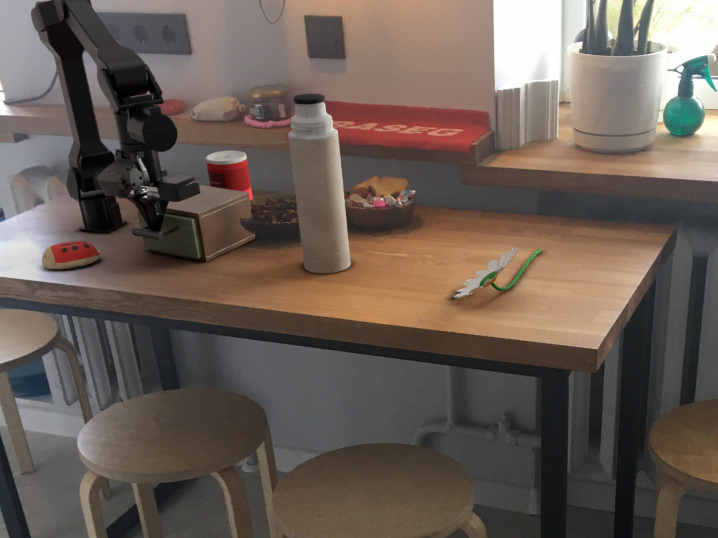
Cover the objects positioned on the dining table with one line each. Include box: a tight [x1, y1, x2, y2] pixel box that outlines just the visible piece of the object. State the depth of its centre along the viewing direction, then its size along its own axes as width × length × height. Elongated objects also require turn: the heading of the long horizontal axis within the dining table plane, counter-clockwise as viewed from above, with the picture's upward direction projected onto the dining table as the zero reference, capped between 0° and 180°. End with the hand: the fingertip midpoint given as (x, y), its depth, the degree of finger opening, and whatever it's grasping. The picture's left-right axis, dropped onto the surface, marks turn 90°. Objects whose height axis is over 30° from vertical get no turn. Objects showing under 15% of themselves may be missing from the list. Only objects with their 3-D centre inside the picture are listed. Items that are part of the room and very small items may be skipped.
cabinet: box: [147, 184, 256, 263], centre depth 183 cm, size 14×14×9 cm
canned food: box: [205, 150, 254, 200], centre depth 199 cm, size 8×8×11 cm
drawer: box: [131, 210, 203, 258], centre depth 180 cm, size 18×12×7 cm
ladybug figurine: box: [41, 240, 102, 270], centre depth 177 cm, size 7×10×4 cm
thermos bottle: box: [288, 93, 351, 274], centre depth 168 cm, size 8×8×28 cm
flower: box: [452, 246, 542, 301], centre depth 167 cm, size 13×6×30 cm
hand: (156, 233), depth 175 cm, fingers closed
